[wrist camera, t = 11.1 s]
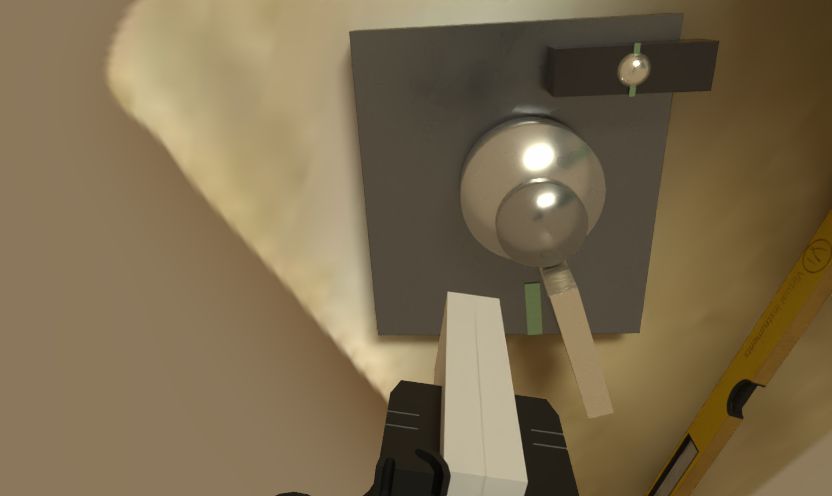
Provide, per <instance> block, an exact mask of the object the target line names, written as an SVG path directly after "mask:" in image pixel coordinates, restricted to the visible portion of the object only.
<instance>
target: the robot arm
mask: <svg viewBox="0 0 832 496" xmlns="http://www.w3.org/2000/svg"><path fill="white" fill-rule="evenodd" d="M566 447H567V446H566V443H565V439H564V436H563V431H562V427H561V423H560V419H559V415H558V414H557V413H556V412H555V410H554V409H553V408H552V406H551V405H550V404H549V402H548V401H547V400H546V399H540V398H533V397H526V396H519V395H514V390H513V384H512V378H511V371H510V365H509V359H508V352H507V346H506V339H505V333H504V327H503V320H502V314H501V307H500V301H499V299H498V298H491V297H483V296H476V295H469V294H462V293H455V292H447V298H446V304H445V310H444V316H443V322H442V328H441V334H440V340H439V346H438V352H437V358H436V364H435V373H434V385H432V384H424V383H417V382H410V381H403V380H401V381H400V382H399V383H398V385H397V386H396V387H395V388H394V389H393V391H392V392H391V393H390V399H389V405H388V411H387V417H386V424H385V429H384V436H383V441H382V447H381V453H380V458H379V460H378V463H377V465H376V470H375V479H374V484H373V486H372V487H371V489H370V490H369V491H368V492H367V493H366V494H365V495H363V496H579V493H578V489H577V485H576V481H575V477H574V474H573V470H572V466H571V462H570V458H569V454H568V450H566ZM276 496H310V495H308V494H303V493H297V492H290V493H283V494H278V495H276Z"/></svg>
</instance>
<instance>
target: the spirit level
mask: <svg viewBox="0 0 832 496" xmlns="http://www.w3.org/2000/svg"><path fill="white" fill-rule="evenodd" d="M831 292H832V209H831V210H830V212H829V213H828V215H827V216H826V218H825V220H824V221H823V223H822V224H821V226H820V227H819V229H818V230H817V232H816V233H815V235H814V236H813V238H812V240H811V241H810V243H809V244H808V246H807V247H806V249H805V250H804V252H803V253H802V255H801V256H800V258H799V260H798V261H797V263H796V264H795V266H794V267H793V269H792V270H791V272H790V273H789V275H788V277H787V278H786V280H785V281H784V283H783V284H782V286H781V287H780V289H779V290H778V292H777V293H776V295H775V297H774V298H773V300H772V301H771V303H770V304H769V306H768V307H767V309H766V310H765V312H764V313H763V315H762V317H761V318H760V320H759V321H758V323H757V324H756V326H755V327H754V329H753V330H752V332H751V333H750V335H749V337H748V338H747V340H746V341H745V343H744V344H743V346H742V347H741V349H740V350H739V352H738V354H737V355H736V357H735V358H734V360H733V361H732V363H731V364H730V366H729V367H728V369H727V370H726V372H725V374H724V375H723V377H722V378H721V380H720V381H719V383H718V384H717V386H716V387H715V389H714V390H713V392H712V394H711V395H710V397H709V398H708V400H707V401H706V403H705V404H704V406H703V407H702V409H701V410H700V412H699V414H698V415H697V417H696V418H695V420H694V421H693V423H692V424H691V426H690V427H689V429H688V431H687V432H686V434H685V435H684V437H683V438H682V440H681V441H680V443H679V444H678V446H677V447H676V449H675V451H674V452H673V454H672V455H671V457H670V458H669V460H668V461H667V463H666V464H665V466H664V467H663V469H662V471H661V472H660V474H659V475H658V477H657V478H656V480H655V481H654V483H653V484H652V486H651V487H650V489H649V491H648V492H647V494H646V495H645V496H689V495H690V494H691V492H692V491H693V490H694V488H695V487H696V485H697V484H698V482H699V481H700V480H701V478H702V477H703V475H704V474H705V472H706V471H707V470H708V468H709V467H710V465H711V464H712V462H713V461H714V460H715V458H716V457H717V455H718V454H719V452H720V451H721V450H722V448H723V447H724V445H725V444H726V442H727V441H728V439H729V438H730V437H731V435H732V434H733V432H734V431H735V429H736V428H737V427H738V425H739V424H740V422H741V421H742V419H743V418H744V417H743V415H742V407H743V406H744V404H745V403H746V402H747V400H748V399H749V397H750V396H751V394H752V393H753V391H754V390H755V389H756V387H757V386H761V387H766V385H767V384H768V382H769V381H770V379H771V378H772V377H773V375H774V374H775V372H776V371H777V369H778V368H779V367H780V365H781V364H782V362H783V361H784V359H785V358H786V356H787V355H788V354H789V352H790V351H791V349H792V348H793V346H794V345H795V344H796V342H797V341H798V339H799V338H800V336H801V335H802V334H803V332H804V331H805V329H806V328H807V326H808V325H809V324H810V322H811V321H812V319H813V318H814V316H815V315H816V314H817V312H818V311H819V309H820V308H821V306H822V305H823V304H824V302H825V301H826V299H827V298H828V296H829V295H830V294H831Z"/></svg>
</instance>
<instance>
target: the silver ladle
mask: <svg viewBox="0 0 832 496" xmlns="http://www.w3.org/2000/svg"><path fill="white" fill-rule="evenodd" d="M605 193H606V186H605V177H604V173H603V170H602V167H601V164H600V162H599V160H598V158H597V156H596V155H595V154H594V152H593V151H592V149H591V148H590V147H589V146H588V145H587V144H586V143H585V142H584V141H583V140H582V139H581V138H580V137H579V136H578V135H577V134H576V133H575V132H574V131H572V130H571V129H570V128H569V127H567V126H565V125H563V124H562V123H559V122H557V121H554V120H551V119H547V118H543V117H521V118H515V119H512V120H508V121H506V122H503V123H501V124H499V125H497V126H495V127H494V128H492V129H490V130H489V131H488V132H487V133H485V134H484V135H483V136H482V137H481V138H480V139H479V140H478V141H477V142H476V143H475V145H474V146H473V147H472V148H471V150H470V152H469V154H468V155H467V157H466V160H465V162H464V164H463V168H462V172H461V179H460V197H461V208H462V213H463V216H464V220H465V222H466V224H467V226H468V228H469V230H470V231H471V233H472V235H473V236H474V237H475V238H476V239H477V241H479V242H480V243H481V244H482V245H483V246H484V247H485V248H487V249H488V250H490V251H491V252H493V253H495V254H497V255H499V256H502V257H504V258H507V259H511V260H514V261H516V262H518V263H519V264H522V265H525V266H528V267H534V268H539V269H540V272H541V275H542V278H543V282H544V285H545V288H546V291H547V294H548V297H549V298H550V301H551V304H552V307H553V311H554V314H555V317H556V320H557V323H558V326H559V329H560V333H561V336H562V339H563V342H564V345H565V348H566V352H567V355H568V358H569V361H570V364H571V367H572V370H573V373H574V376H575V379H576V382H577V385H578V388H579V391H580V394H581V397H582V400H583V403H584V406H585V409H586V412H587V416H588V419H590V418H594V417H599V416H603V415H607V414H611V413H614V410H613V407H612V403H611V400H610V397H609V393H608V390H607V386H606V383H605V379H604V376H603V373H602V369H601V366H600V362H599V359H598V355H597V352H596V349H595V345H594V342H593V338H592V335H591V331H590V328H589V325H588V321H587V318H586V314H585V311H584V307H583V304H582V301H581V297H580V294H579V290H578V287H577V285H576V283H575V280H574V278H573V276H572V274H571V272H570V269H569V267H568V265H567V263H566V260H567V259H569V258H570V257H571V256H573V255H574V254H575V253H576V252H577V251H578V249H579V248H580V247H581V245H582V244H583V242H584V240H585V238H586V236H587V235H588V234H589V233H590V231H591V230H592V229H593V227H594V226H595V224H596V222H597V221H598V219H599V217H600V214H601V212H602V209H603V205H604V201H605Z"/></svg>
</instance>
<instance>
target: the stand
mask: <svg viewBox="0 0 832 496" xmlns="http://www.w3.org/2000/svg"><path fill="white" fill-rule="evenodd" d="M682 20H683V13H665V14H647V15H628V16H610V17H592V18H573V19H555V20H537V21H518V22H500V23H482V24H463V25H445V26H427V27H408V28H390V29H372V30H355V31H350V32H349V35H350V45H351V56H352V66H353V77H354V87H355V98H356V108H357V119H358V129H359V140H360V150H361V161H362V171H363V182H364V193H365V203H366V214H367V224H368V235H369V245H370V256H371V266H372V277H373V287H374V298H375V308H376V319H377V329H378V335H440V334H441V328H442V322H443V316H444V310H445V304H446V298H447V292H455V293H462V294H469V295H476V296H483V297H491V298H498V299H499V301H500V307H501V314H502V320H503V327H504V333H505V334H528V335H538V334H561V333H560V329H559V326H558V323H557V320H556V317H555V314H554V311H553V307H552V304H551V301H550V298H549V297H548V294H547V291H546V288H545V285H544V282H543V278H542V275H541V272H540V269H539V268H534V267H528V266H525V265H522V264H519V263H518V262H516V261H514V260H511V259H507V258H504V257H502V256H499V255H497V254H495V253H493V252H491V251H490V250H488V249H487V248H485V247H484V246H483V245H482V244H481V243H480V242H479V241H477V239H476V238H475V237H474V236H473V235H472V233H471V231H470V230H469V228H468V226H467V224H466V222H465V220H464V216H463V213H462V208H461V197H460V179H461V172H462V168H463V164H464V162H465V160H466V157H467V155H468V154H469V152H470V150H471V148H472V147H473V146H474V145H475V143H476V142H477V141H478V140H479V139H480V138H481V137H482V136H483V135H484V134H485V133H487V132H488V131H489V130H490V129H492V128H494V127H495V126H497V125H499V124H501V123H503V122H506V121H508V120H512V119H515V118H521V117H543V118H547V119H551V120H554V121H557V122H559V123H562V124H563V125H565V126H567V127H569V128H570V129H571V130H572V131H574V132H575V133H576V134H577V135H578V136H579V137H580V138H581V139H582V140H583V141H584V142H585V143H586V144H587V145H588V146H589V147H590V148H591V149H592V151H593V152H594V154H595V155H596V156H597V158H598V160H599V162H600V164H601V167H602V170H603V173H604V177H605V186H606V193H605V201H604V205H603V209H602V212H601V214H600V217H599V219H598V221H597V222H596V224H595V226H594V227H593V229H592V230H591V231H590V233H589V234H588V235H587V236H586V238H585V240H584V242H583V244H582V245H581V247H580V248H579V249H578V251H577V252H576V253H575V254H574V255H573V256H571V257H570V258H569V259H567V260H566V263H567V265H568V267H569V269H570V272H571V274H572V276H573V278H574V280H575V283H576V285H577V287H578V290H579V294H580V297H581V301H582V304H583V307H584V311H585V314H586V318H587V321H588V325H589V328H590V331H591V334H597V333H640V325H641V318H642V311H643V304H644V296H645V289H646V282H647V275H648V267H649V260H650V253H651V245H652V238H653V231H654V224H655V216H656V209H657V202H658V195H659V187H660V180H661V173H662V166H663V158H664V151H665V144H666V136H667V129H668V122H669V115H670V107H671V100H672V93H673V92H692V91H711V87H712V81H713V75H714V69H715V63H716V57H717V51H718V45H719V41H715V40H706V39H683V40H680V35H681V27H682Z"/></svg>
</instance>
